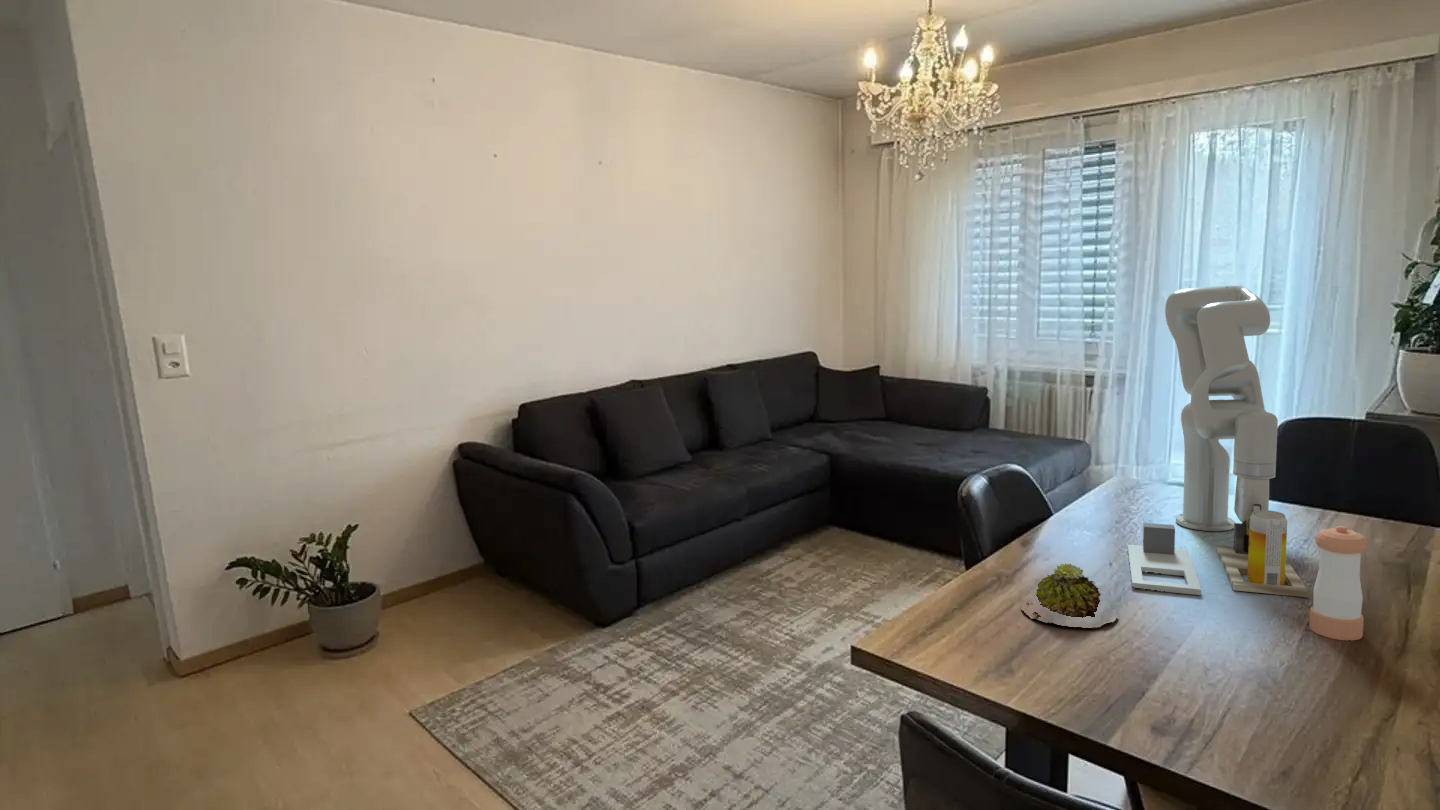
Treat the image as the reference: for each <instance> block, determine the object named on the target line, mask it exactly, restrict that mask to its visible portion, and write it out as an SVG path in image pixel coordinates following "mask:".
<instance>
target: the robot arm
mask: <svg viewBox="0 0 1440 810" xmlns="http://www.w3.org/2000/svg"><path fill="white" fill-rule="evenodd" d="M1164 313H1165V321H1166V324H1167V327H1168V329H1169V332H1170V334H1171V336H1172V338H1173V340H1174V341H1175V345H1176V349H1177V354H1178V362H1179V369H1180V375H1181V381H1182V386H1183V389H1184V390H1185V392H1186V393H1187V394H1188V395H1190V396H1191V397H1190V402H1189V403H1187V404H1186V405H1184V407H1183V408H1182V411H1181V413H1180V422H1181V429H1182V432H1183V433H1182V434H1183V442H1184V447H1183V448H1184V456H1183V457H1184V459H1183V461H1184V467H1183V503H1182V505H1183V507H1182V513H1179V514H1177V515H1176V516H1175V522H1176V523H1177V524H1178V525H1180V526H1181V527H1185V528H1187V529H1191V530H1198V531H1203V532H1204V531H1205V532H1225V531H1231V530H1234V523H1236V522H1235V520H1234V519H1233V518H1231V517H1229V491H1230V490H1229V489H1230V488H1229V487H1230V462H1231V459H1230V454H1229V452H1228V450H1227V449H1225V447H1224V446H1223V445H1222V444H1221V442H1220V441H1219V440H1234V441H1233V443H1234V444H1233V471H1232V475H1234V476H1235V477H1236V481H1235V482H1236V484H1235V485H1236V486H1235V495H1234V496H1235V497H1234V507H1233V511H1234V513H1235V515H1236V517H1237V519H1238V520H1239V521H1240V522H1241V524H1246V534H1244V552H1248V551H1249V527H1250V516H1251V515H1252V512H1253V511H1256V510H1269V506H1270V479H1274V478H1276V469H1277V449H1278V448H1277V446H1278V444H1277V443H1278V428H1279V427H1278V423H1279V422H1278V421H1279V420H1278V417H1277V415H1275V414H1274V413H1271V412H1267V410H1266V409H1265V404H1264V403H1265V402H1264V397H1263V392H1262V387H1261V382H1260V375H1259V372H1258V369H1257V367H1256V366H1255V365H1256V364H1254V362H1253V361H1252V360H1250V357H1249V354H1248V349H1247V345H1246V341H1245V337H1253V336H1254V337H1255V336H1262V335H1264V334H1266V332H1267V331H1268V330H1269V328H1270V324H1271V315H1270V311H1269V309H1268V306H1267V305H1266V304H1265V303H1264V301H1263V300H1262V299H1261V298H1260V297H1259V296H1257V295H1256V294H1255V293H1253V292H1252V291H1251V290H1249V288H1247V287H1244V286H1243V285H1222V286H1221V285H1220V286H1202V287H1190V288H1182V289H1179V290H1176V291H1174V292H1172V293H1171V294H1170V295H1169V296H1168V297H1167V299H1166V301H1165V309H1164ZM1220 396H1221V397H1223V396H1226V397H1228V396H1230V397H1232V398H1233V399H1210V398H1209V397H1220Z"/></svg>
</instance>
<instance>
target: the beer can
mask: <svg viewBox="0 0 1440 810" xmlns="http://www.w3.org/2000/svg"><path fill="white" fill-rule="evenodd" d="M1287 536H1288V519H1287V518H1286V514H1285V513H1282V512H1279V511H1277V510H1271V509H1270V510H1269V509H1268V510H1256V511H1253V512H1252V515H1251V516H1250V527H1249V551H1248V574H1246V575H1247V576H1246V578H1247V582H1250V583H1260V584H1271V585H1282V586H1285V582H1286V580H1285V561H1286V559H1287Z"/></svg>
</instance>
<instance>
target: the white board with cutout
mask: <svg viewBox="0 0 1440 810" xmlns="http://www.w3.org/2000/svg"><path fill="white" fill-rule="evenodd" d="M1142 527H1143V528H1142V529H1143V530H1142V545H1137V544H1127V555H1128V554H1129V556H1128V563H1129V562H1130V565H1129V571H1131V573H1130V579H1131V580H1132V582H1131V587H1132V586H1133V587H1138V588H1144V589H1143V590H1145V589H1151V590H1150V591H1154V590H1157V592H1164V591H1165V592H1166V593H1176V594H1177V593H1178V594H1185V595H1186V594H1187V595H1194V596H1201V595H1202V587H1201V585H1200V581H1199V579H1198V576H1197V575H1198V574H1197V573H1196V570H1195V567H1194V563H1193V561H1192V560H1193V559H1192V556H1191V555H1190V551H1189V549H1187V548H1177V547H1176V546H1175V545H1176V544H1175V543H1176V540H1175V539H1176V528H1175V525H1174V524H1165V523H1152V522H1151V523H1148V522H1143V525H1142ZM1175 547H1176V548H1175ZM1142 571H1148V572H1154V573H1153V574H1158V573H1161V574H1160V575H1168V576H1169V575H1171V576H1182V577H1183V578H1184V580H1185V583H1175V582H1164V581H1155V580H1145V579H1144V577H1143V572H1142Z"/></svg>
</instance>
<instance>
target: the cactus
mask: <svg viewBox="0 0 1440 810" xmlns="http://www.w3.org/2000/svg"><path fill="white" fill-rule="evenodd" d="M1083 572H1084V570H1083V569H1081V567H1079V566H1078V567H1077V566H1076V565H1074V564H1073V565H1072V563H1063V564H1062V563H1060V564H1059V565H1056V568H1054V569H1053V573H1051V574H1047V576H1046V577H1043V578H1041V580H1040V581H1038V582H1039V583H1037V589H1036V593H1035V595H1036V596H1037V597H1038V600H1039V602H1041V604H1040V605H1042V606H1043V607H1046V608H1048V609H1050V611H1053V612H1057V613H1059V614H1062V615H1066V616H1071V617H1082V618H1083V617H1086V616H1091V617H1095V614H1094V612H1096V611H1097V607H1098V604H1099V602H1100V600H1101V599H1100V597H1101V596H1102V593H1100V591H1099V589H1100V588H1099V587H1098V586H1097V585H1095V584H1096V581H1093V580H1089V577H1090V576H1089V577H1087V576H1085V575H1084V574H1083ZM1113 623H1114V622H1112V623H1111V624H1113Z"/></svg>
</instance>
